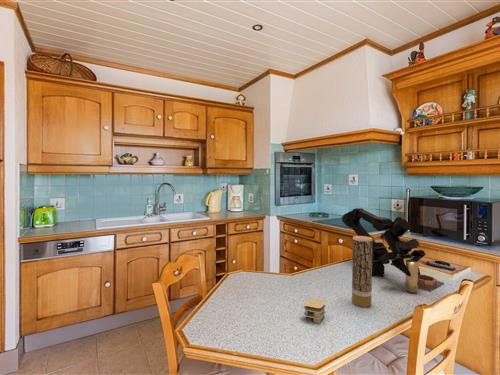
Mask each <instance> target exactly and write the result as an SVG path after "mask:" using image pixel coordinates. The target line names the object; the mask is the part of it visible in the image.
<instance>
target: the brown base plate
mask: <svg viewBox="0 0 500 375" xmlns="http://www.w3.org/2000/svg"><path fill="white" fill-rule="evenodd" d="M444 284H445V282H443V281H440V280H438V279H437V278H435V277H433V276H431V275H427V274H421V273H420V275H418V289H420V290H424V291H427V292H432V291H434V290H436V289H438V288H439V287H441V286H443V285H444Z"/></svg>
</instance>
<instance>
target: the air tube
mask: <svg viewBox="0 0 500 375" xmlns="http://www.w3.org/2000/svg"><path fill="white" fill-rule="evenodd" d="M405 265H406V267H407V268H408V270H409V272H410V274H411V276H407V275H406V274H405V282H404V285H405V287H404V288H405V290H406V292H410V293H417V292H418V291H419V290H418V289H419V288H418V266H419V260H418V261H415V260H407V259H405Z"/></svg>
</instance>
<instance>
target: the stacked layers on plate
mask: <svg viewBox="0 0 500 375" xmlns="http://www.w3.org/2000/svg"><path fill="white" fill-rule="evenodd" d="M303 304H304V305H305V306H303V309H304V312H303V315H304V316H305V317H307V318H311V319H313V322H314V323H316V324H320V323H321V322H322V319H323V318H325V314H326V313H327V311H326V310H325V308H326V306H327V305H326V301H325V300H321V299H319V298H313V299H310V300H307V301H305V302H303Z"/></svg>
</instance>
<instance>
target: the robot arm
mask: <svg viewBox="0 0 500 375" xmlns="http://www.w3.org/2000/svg"><path fill="white" fill-rule="evenodd" d="M341 220H342V221H341V222H342V223H343V224H344V225H345V226H346V227H348V228H350V229H352V231H354V233H355V234H356V236H366V237H371V238H372V240H373V241H372V277H373V276H374V277H382V278H383V277H385V265H390V266H393V267H395V268H397V269H398V270H399V271H400V272H401V273H403V274H404V275H405V276H406V275H407V276H411V274H410V272H409V270H408V268H407V267H406V262H405V260H415V261H418V262H419V261H420V260H421V259H423V258H424V257H425V256H427V254H426V252H425V251H424V249H418V247H419V246H420V241H418V240H417V238H412V239H410V240H406V241H405V240H401V238H400V237H403V236H404V235H405V234H406V233H407V232H408V231H410V229H411V228H412V226H411V223H410V222H409V221H407V220H406V219H405V218H402V217H401V216H397V217H396V218H395V219H394V221H393V219H391V218H389V217H383V216H378V215H376V214H374V213H372V212H369V211H367V210H366V209H364V208H362V207H359V208H358V207H357V208H356V207H355V208H353V209H352V210H350V211H348V212H346V213H344V214H343V215H342V216H341ZM361 220H364V221H365V222H367V223H369V224H371V226H372V228H374V230H376V231H377V232H382V233H381V234H380V237H379V239H380V240H385V242H386V244H387V246H388V247H386V246H385V244H384V243H383V242H382V241H379V242H378V241H375V240H374V238H373V237H372V236H371V235H370V234H369V232H368V231H367V230H366V229H365V227H363V225H362V224H361ZM412 250H413V251H412ZM390 262H391V263H390ZM419 266H420V265H418V275H420V274H421V270H420V267H419Z"/></svg>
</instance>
